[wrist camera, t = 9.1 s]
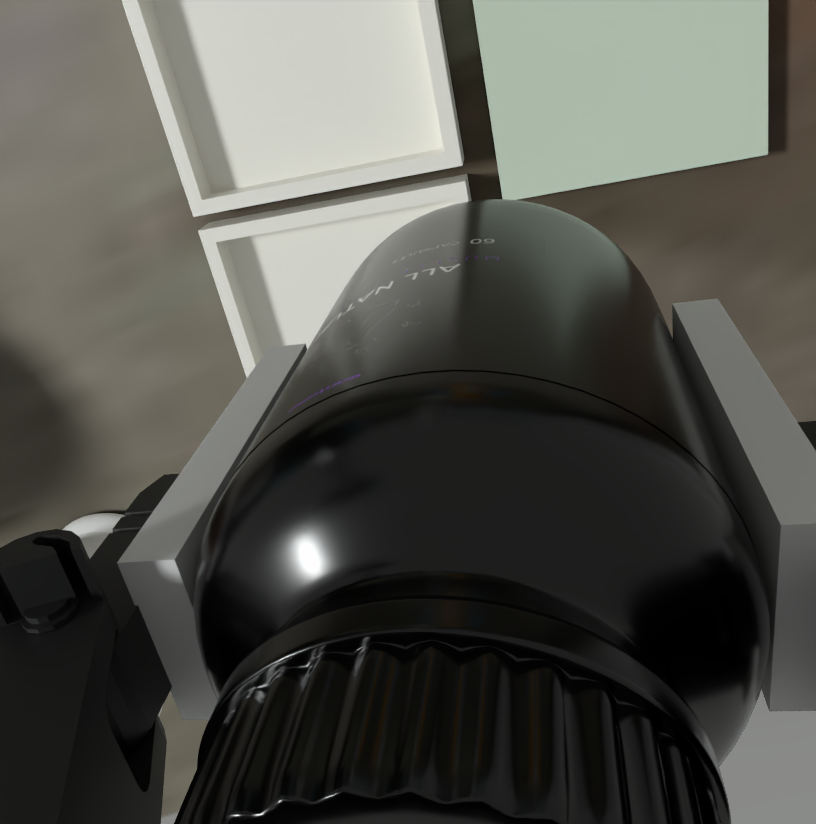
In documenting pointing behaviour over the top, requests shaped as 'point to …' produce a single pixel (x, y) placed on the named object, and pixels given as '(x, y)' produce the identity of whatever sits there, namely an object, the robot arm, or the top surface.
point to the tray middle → (306, 259)
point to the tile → (621, 88)
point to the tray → (297, 94)
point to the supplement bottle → (480, 554)
